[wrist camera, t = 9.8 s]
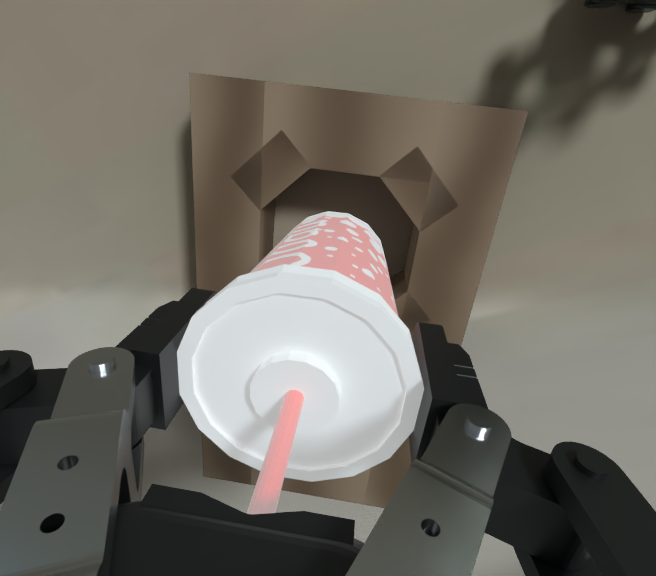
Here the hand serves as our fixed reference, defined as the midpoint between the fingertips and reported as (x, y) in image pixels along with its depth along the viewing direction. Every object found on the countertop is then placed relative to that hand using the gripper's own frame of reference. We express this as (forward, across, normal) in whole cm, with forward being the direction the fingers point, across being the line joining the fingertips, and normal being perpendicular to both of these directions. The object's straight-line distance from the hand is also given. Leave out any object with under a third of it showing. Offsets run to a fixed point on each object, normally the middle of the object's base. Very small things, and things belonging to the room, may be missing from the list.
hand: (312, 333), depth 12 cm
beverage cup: (+6, 0, 0) cm, 6 cm away
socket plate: (+11, 0, +5) cm, 12 cm away
